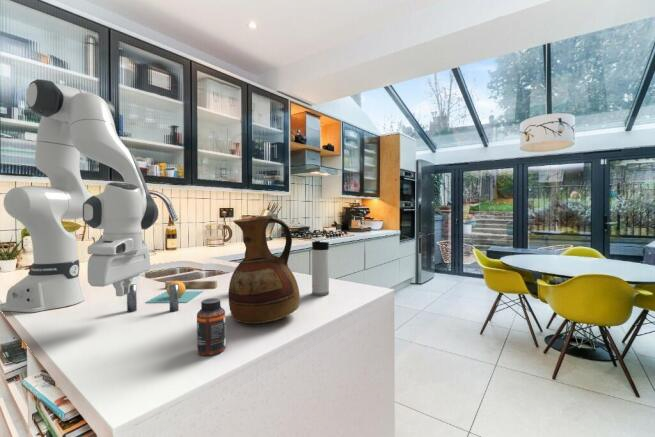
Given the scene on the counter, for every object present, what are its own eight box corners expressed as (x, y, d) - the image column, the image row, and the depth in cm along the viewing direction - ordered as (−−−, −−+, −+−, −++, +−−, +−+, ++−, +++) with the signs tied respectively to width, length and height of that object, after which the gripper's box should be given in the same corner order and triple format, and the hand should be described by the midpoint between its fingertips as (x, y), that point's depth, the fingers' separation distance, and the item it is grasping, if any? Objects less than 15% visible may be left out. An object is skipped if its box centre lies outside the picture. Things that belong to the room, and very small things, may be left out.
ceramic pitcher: (225, 311, 95) (224, 214, 95) (288, 304, 103) (288, 214, 102) (232, 335, 77) (231, 215, 77) (309, 323, 85) (308, 215, 84)
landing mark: (144, 303, 105) (144, 302, 105) (165, 292, 119) (165, 291, 119) (186, 302, 105) (186, 302, 105) (202, 291, 119) (202, 291, 119)
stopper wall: (165, 288, 124) (165, 282, 124) (167, 287, 126) (167, 281, 126) (215, 288, 124) (215, 281, 124) (217, 286, 126) (217, 280, 126)
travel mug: (308, 295, 114) (308, 240, 113) (316, 290, 120) (316, 239, 119) (324, 297, 111) (324, 241, 111) (331, 292, 118) (331, 239, 117)
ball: (172, 278, 114) (173, 294, 114) (162, 283, 108) (163, 300, 108) (188, 278, 113) (189, 294, 114) (178, 284, 107) (179, 300, 108)
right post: (168, 311, 96) (167, 286, 95) (172, 309, 98) (171, 284, 98) (176, 311, 96) (175, 285, 95) (180, 309, 98) (179, 284, 98)
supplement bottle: (231, 346, 71) (230, 297, 71) (213, 358, 65) (213, 305, 65) (209, 343, 73) (209, 295, 73) (191, 354, 67) (190, 302, 67)
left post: (125, 312, 95) (124, 286, 95) (130, 309, 98) (129, 284, 98) (133, 312, 95) (133, 286, 95) (138, 309, 98) (137, 284, 98)
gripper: (135, 239, 93) (134, 284, 94) (81, 248, 73) (81, 306, 73) (156, 239, 93) (155, 285, 94) (108, 249, 73) (108, 307, 73)
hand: (122, 294), depth 83 cm, fingers closed
